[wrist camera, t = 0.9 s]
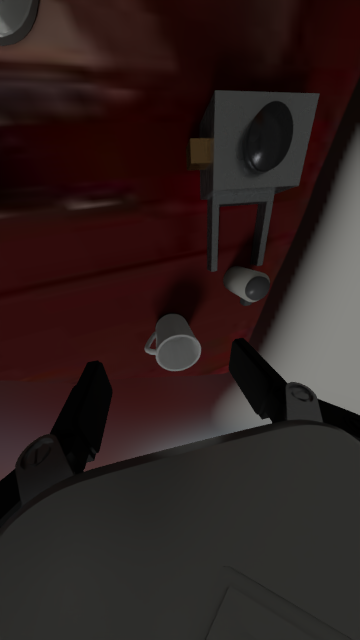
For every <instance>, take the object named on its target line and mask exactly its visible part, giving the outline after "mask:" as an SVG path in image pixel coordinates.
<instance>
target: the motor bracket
mask: <svg viewBox="0 0 360 640" xmlns="http://www.w3.org/2000/svg"><path fill="white" fill-rule="evenodd" d="M318 98H319V94H316V93H285V92H254V91H222V90H215V91H214V94H213V96H212V98H211V100H210V102H209V105H208V107H207V109H206V111H205V114H204V116H203V118H202V120H201V122H200V138H190V140H189V142H188V145H187V147H186V157H187V170H200V200H206V199H207V270H209V271H211V272H212V271H217V254H218V225H219V207H223V206H237V205H252V204H258V209H257V217H256V224H255V232H254V239H253V247H252V254H251V261H250V264H251V265H256V266H260V265H262V263H263V258H264V252H265V246H266V240H267V234H268V228H269V223H270V217H271V211H272V205H273V199H274V194H276V193H279V192H282V191H285V190H288V189H290V188H293V187H296V186H299V182H300V177H301V173H302V168H303V164H304V160H305V155H306V151H307V146H308V142H309V138H310V133H311V129H312V124H313V120H314V115H315V111H316V107H317V102H318Z"/></svg>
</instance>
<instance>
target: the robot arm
mask: <svg viewBox="0 0 360 640" xmlns="http://www.w3.org/2000/svg"><path fill="white" fill-rule="evenodd" d="M38 2H39V0H0V46H5V45H11V44H15V43H17V42H18V41H20V40H22V39H23V38H24V37H25V36H26V35H27V33H28V32H29V31H30V30H31V27H32V25H33V23H34V20H35V18H36V13H37V7H38ZM229 371H230V373H231V374H232V376H233V378H234V379H235V381H236V382H237V384H238V386H239V387H240V389H241V391H242V392H243V394H244V395H245V397H246V399H247V400H248V402H249V403H250V405H251V407H252V408H253V410H254V411H255V413H256V414H258V415H259V416H260V417H261V419H265V418H270V419H271V421H272V424H267V425H263V426H259V427H255V428H251V429H246V430H243V431H238V432H234V433H230V434H226V435H222V436H218V437H214V438H210V439H206V440H202V441H198V442H194V443H190V444H186V445H182V446H178V447H174V448H170V449H166V450H162V451H159V452H155V453H151V454H147V455H143V456H139V457H135V458H132V459H128V460H124V461H120V462H116V463H113V464H109V465H106V466H102V467H98V468H95V469H91V470H89V471H86V472H84V471H83V470H84V469H85V466H86V463H87V462H91V461H94V459H95V455H96V453H98V452H99V450H100V446H101V441H102V437H103V433H104V428H105V424H106V420H107V415H108V411H109V406H110V402H111V397H112V387H111V385H110V382H109V380H108V377H107V374H106V372H105V369H104V367H103V364H102V363H101V362H100V363H99V361H92V362H88V363H87V365H86V367H85V369H84V371H83V373H82V375H81V377H80V379H79V381H78V383H77V385H75V386H74V388H73V389H72V391H71V393H70V395H69V397H68V399H67V400H66V403H65V405H64V407H63V408H62V411H61V412H60V414H59V416H58V418H57V420H56V422H55V424H54V426H53V428H52V430H51V432H50V434H46V435H43V436H41V437H39V438H37V439H36V440H34V441H33V442H32V443H30V444H29V445H28V446H27V447H26V448H25V449H24V451H23V452H22V453H21V455H20V456H19V458H18V460H17V462H16V465H15V469H14V470H13V471H12V472H11V473H9V474H8V475H7V476H6V477H5V478H3V479H2V480H1V481H0V640H360V415H358V414H356V413H353V412H350V411H348V410H345V409H343V408H340V407H338V406H335V405H332V404H330V403H327V402H325V401H322V400H319V399H317V397H316V395H315V394H314V392H313V391H312V390H311V389H310V388H308V387H307V386H305V385H302V384H300V383H296V382H290V383H288V384H287V383H286V381H285V380H284V379H283V378H282V377H281V376H280V375H279V374H278V373H277V372H276V371H275V370H274V369H273V368H272V367H271V366H270V365H269V364H268V363H267V362H266V361H265V360H264V359H263V358H262V357H261V356H260V355H259V353H258V352H257V351H256V350H255V349H254V348H253V347H252V346H251V345H250V344H249V343H248V342H247V341H246V340H245V339H244V338H239V339H235V340H234V341H233V342H232V348H231V355H230V362H229Z"/></svg>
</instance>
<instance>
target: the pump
mask: <svg viewBox="0 0 360 640" xmlns="http://www.w3.org/2000/svg"><path fill="white" fill-rule="evenodd" d="M223 283H224V286H225V287H226V288H227V289H228V290H230V291H231V292H233V293H235V294H236V295H238V296H240V297H241V300H240V303H241V304H242V305H244V306H246V305H251V303H252V302H255V301H258V300H260V299H262V298H263V297H264V296H265V295H266V294H267V293H268V291H269V288H270V280H269V277H268V276H267V275H266V274H264V273H261V272H258V271H254V270H251V269H247V268H244V267H240V266H233V267H231V268H230V269H228V270H227V272H226V273H225V275H224V278H223Z"/></svg>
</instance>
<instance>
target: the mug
mask: <svg viewBox="0 0 360 640" xmlns="http://www.w3.org/2000/svg"><path fill="white" fill-rule="evenodd" d="M155 337H156V349H150V348H149V347H150V345H151V343H152V341H153V340H154V338H155ZM145 351H146V352H147V353H149V354H152V355H156V360H157V362H158V364H159V365H160V366H161V367H163V368H164V369H167V370H170V371H180V370H184V369H187V368H189V367H190V366H192V365H193V364H194V363H196V361H197V360H198V359H199V357H200V354H201V347H200V344H199V342H198V341H197V339H196V338H195V336H194V334H193V333H192V331H191V329H190V327H189V325H188V323H187V321H186V320H185V318H184V317H183V316H181V315H179V314H175V313H170V314H166V315H164V316H162V317H161V318H160V319H159V320H158V322H157V324H156V332H154V333H153V334H152V335H151V337H150V338H149V340H148V342H147V343H146V345H145Z"/></svg>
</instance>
